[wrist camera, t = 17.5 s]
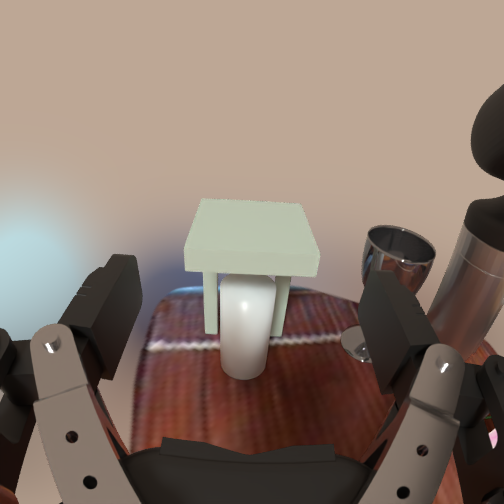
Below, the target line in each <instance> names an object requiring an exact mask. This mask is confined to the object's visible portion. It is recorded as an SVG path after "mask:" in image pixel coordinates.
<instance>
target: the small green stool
mask: <svg viewBox="0 0 504 504" xmlns="http://www.w3.org/2000/svg"><path fill="white" fill-rule="evenodd" d="M184 259H185V271H194V272H203V288H204V314H205V333H207V334H217V333H218V273H232V274H253V275H276V277H275V285H276V296H275V304H274V311H273V318H272V325H271V332H270V336H277V337H281V335H282V329H283V324H284V318H285V312H286V306H287V300H288V294H289V288H290V282H291V276H301V277H302V276H303V277H316V274H317V269H318V264H319V259H320V253H319V250H318V247H317V244H316V242H315V239H314V236H313V234H312V231H311V228H310V226H309V223H308V221H307V218H306V215H305V213H304V210H303V208H302V205H301V204H296V203H281V202H264V201H246V200H225V199H202V200H201V202H200V205H199V208H198V210H197V213H196V216H195V219H194V221H193V224H192V227H191V229H190V232H189V235H188V238H187V241H186V244H185V246H184Z"/></svg>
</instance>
